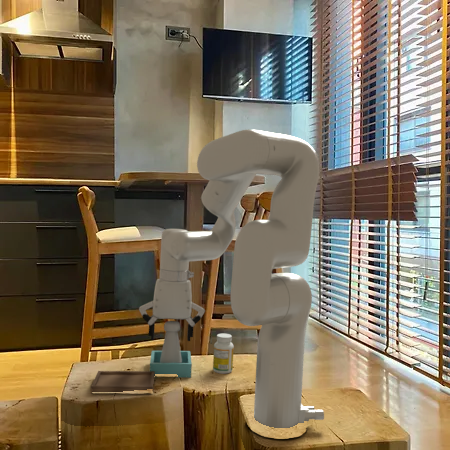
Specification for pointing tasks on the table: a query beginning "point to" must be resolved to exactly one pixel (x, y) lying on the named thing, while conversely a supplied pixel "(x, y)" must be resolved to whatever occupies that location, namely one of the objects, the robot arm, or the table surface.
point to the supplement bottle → (223, 354)
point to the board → (123, 381)
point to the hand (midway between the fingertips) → (170, 339)
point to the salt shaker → (171, 343)
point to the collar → (171, 364)
